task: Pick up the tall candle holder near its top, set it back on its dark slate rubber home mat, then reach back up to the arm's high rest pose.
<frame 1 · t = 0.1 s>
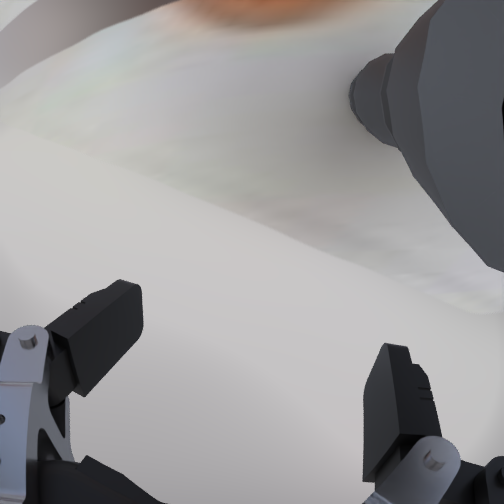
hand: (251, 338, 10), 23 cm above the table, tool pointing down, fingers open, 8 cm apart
candle holder: (382, 99, 24), on the table
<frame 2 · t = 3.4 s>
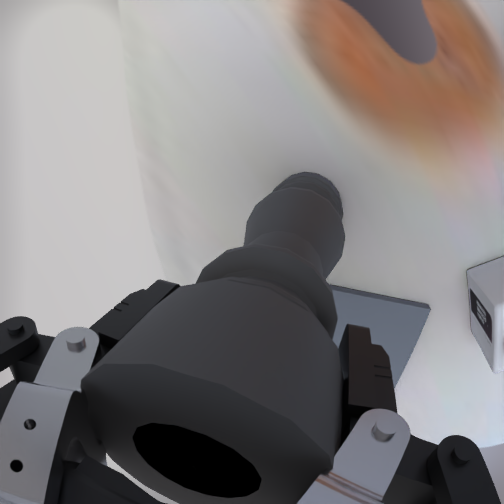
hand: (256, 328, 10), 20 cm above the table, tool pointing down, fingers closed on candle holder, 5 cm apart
container: (497, 289, 26), on the table
home mat: (334, 354, 33), on the table
candle holder: (307, 205, 28), on the table, touching gripper
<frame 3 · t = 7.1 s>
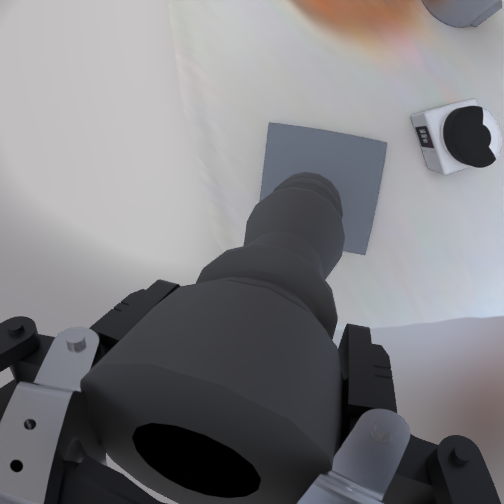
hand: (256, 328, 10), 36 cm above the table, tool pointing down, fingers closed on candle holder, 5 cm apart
container: (441, 135, 36), on the table
home mat: (320, 188, 43), on the table
candle holder: (307, 205, 28), point 16 cm above the table, touching gripper
when the fingers open (22 cm above the table, at t = 10.7 s): candle holder drops 1 cm, resting on home mat.
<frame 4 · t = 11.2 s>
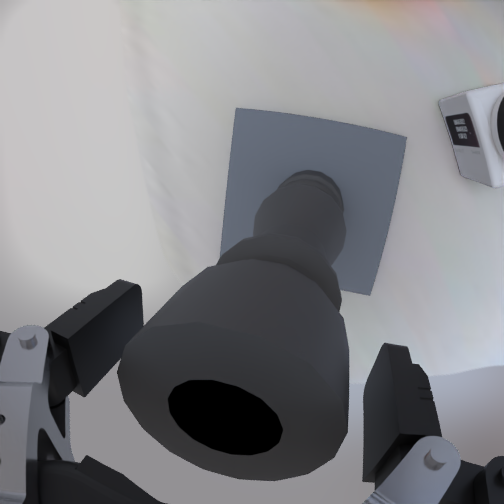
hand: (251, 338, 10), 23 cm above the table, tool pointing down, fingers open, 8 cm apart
container: (479, 130, 24), on the table
home mat: (309, 201, 30), on the table
candle holder: (310, 202, 30), point 1 cm above the table, touching home mat
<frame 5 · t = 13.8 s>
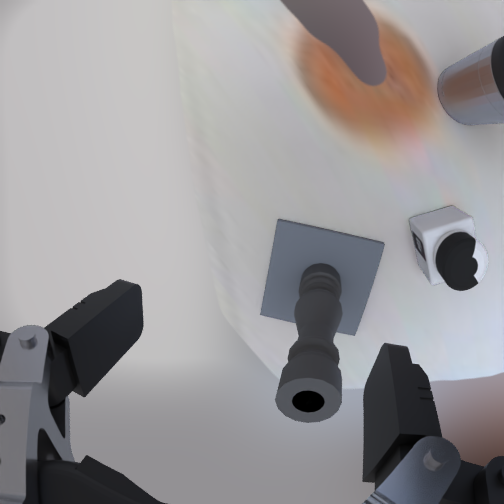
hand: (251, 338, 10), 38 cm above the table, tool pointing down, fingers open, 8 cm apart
container: (435, 235, 42), on the table
home mat: (320, 279, 49), on the table
candle holder: (320, 281, 48), point 1 cm above the table, touching home mat
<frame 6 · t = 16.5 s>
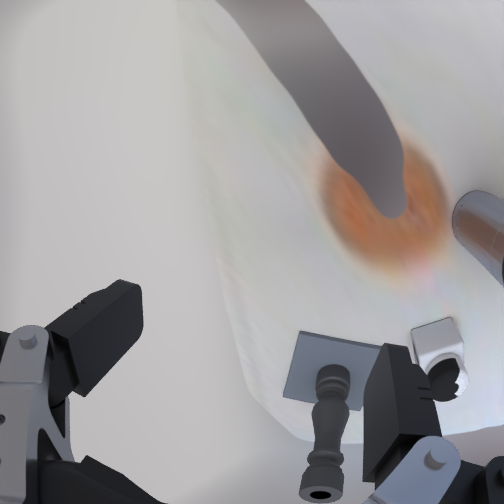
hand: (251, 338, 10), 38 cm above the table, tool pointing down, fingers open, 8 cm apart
container: (433, 339, 48), on the table
home mat: (333, 373, 55), on the table
candle holder: (333, 376, 54), point 1 cm above the table, touching home mat
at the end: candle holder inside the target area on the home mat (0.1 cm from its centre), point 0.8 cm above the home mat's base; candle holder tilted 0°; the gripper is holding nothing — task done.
